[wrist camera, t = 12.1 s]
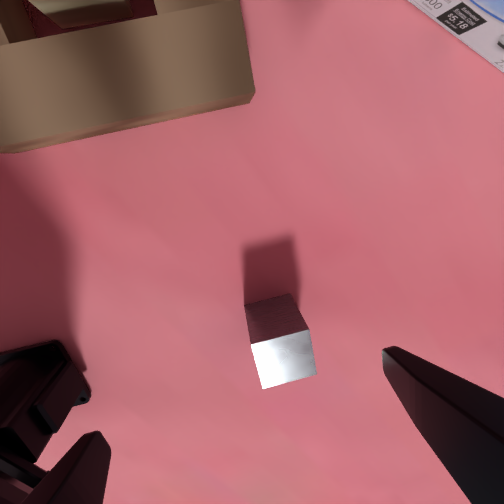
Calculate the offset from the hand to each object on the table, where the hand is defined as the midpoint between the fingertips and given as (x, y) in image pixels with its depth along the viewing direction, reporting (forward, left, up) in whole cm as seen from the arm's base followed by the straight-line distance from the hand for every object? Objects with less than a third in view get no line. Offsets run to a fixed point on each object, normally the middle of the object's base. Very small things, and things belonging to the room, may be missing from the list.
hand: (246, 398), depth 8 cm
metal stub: (+2, -7, -13) cm, 15 cm away
